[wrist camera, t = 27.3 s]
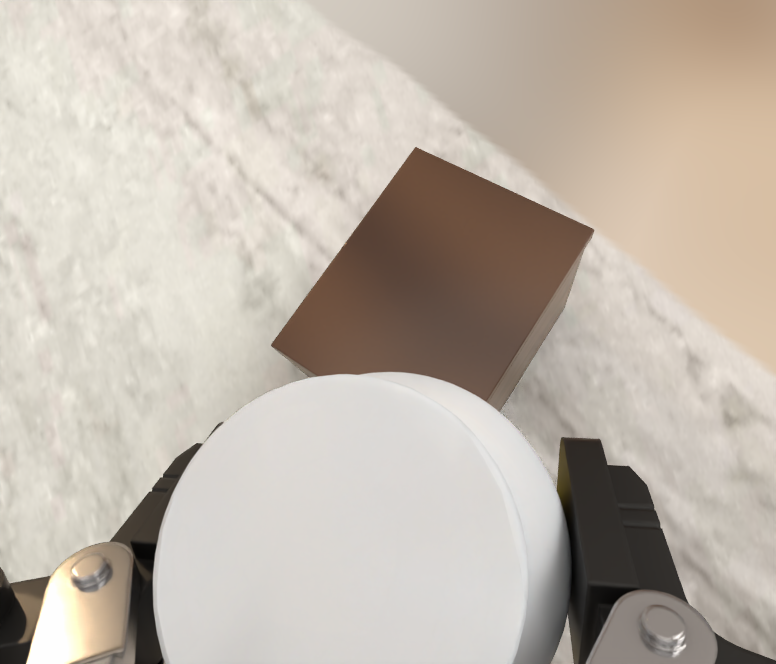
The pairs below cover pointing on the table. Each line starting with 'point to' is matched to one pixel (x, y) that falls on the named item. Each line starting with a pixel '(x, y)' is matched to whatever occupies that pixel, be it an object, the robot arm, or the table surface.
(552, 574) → the pill bottle
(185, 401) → the table surface
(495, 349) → the lid
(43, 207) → the table surface
